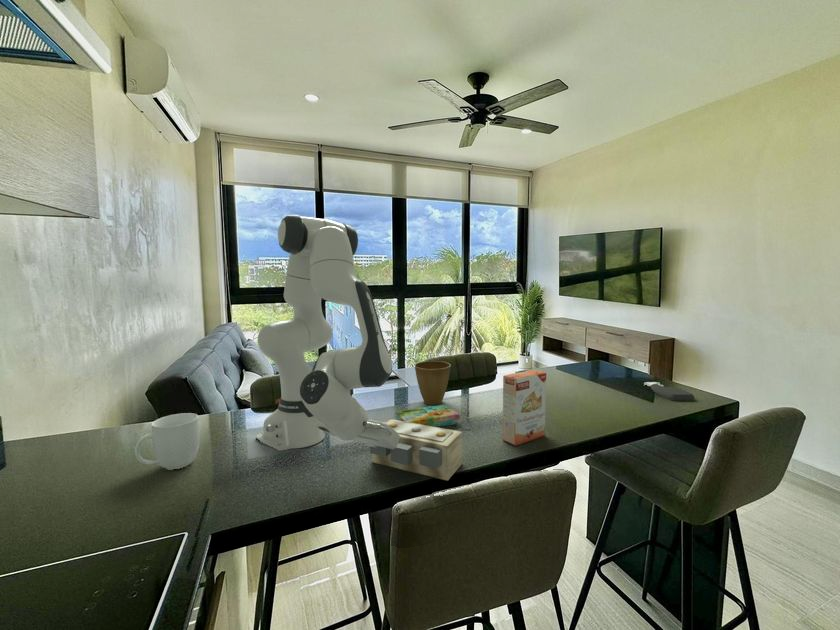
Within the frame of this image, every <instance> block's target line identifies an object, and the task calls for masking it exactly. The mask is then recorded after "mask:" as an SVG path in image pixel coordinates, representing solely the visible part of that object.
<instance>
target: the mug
mask: <svg viewBox="0 0 840 630" xmlns="http://www.w3.org/2000/svg"><path fill="white" fill-rule="evenodd" d="M199 420H200V419H199V415H198V414H197V413H192V412H187V413H185V412H184V413H183V412H181V413H176V414H169V415H166V416H162V417H160V418H157V419H155V420H154V421H152V423H151V425H150V426H151V432H150V433H146V434H144V435H142V436H141V437H140V438H139V439H138V441H137V442H136V443H135V444H136V445H135V448H134V455H135V457H136V459H137V461H138V462H139V463H141V464H144V465H149V466H150V465H160V466H161V467H162V468H163V467H165V468H175V467H181V466H184V465H187V464H189V463H190V462H192V461H193V460H195V458H196V456H197V454H198V451H199V447H200V433H201V432H200V423H199ZM146 439H147V440H148V439H151V440H152V445H153V451H154V452H153V453H154V454H155V458H156V459H154V460H148V459H145V458H143V456H142V455H141V453H140V447H141V444H142V443H143V442H144V441H145V440H146ZM193 462H194V461H193ZM193 462H192V463H193Z"/></svg>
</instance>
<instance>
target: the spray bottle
mask: <svg viewBox="0 0 840 630" xmlns="http://www.w3.org/2000/svg"><path fill="white" fill-rule="evenodd" d="M645 385H647V387H649V386H650V389H651V390H652V392H653V393H655V394H657V395H658V396H659V397H662V398H664V399H667V400H669V401H673V402H692V401H695V395H694V394H692V393H691V392H690V391H688V390H685V389H682V388H677V387H671V386H665V385H663V384H661V383H660V382H656V381H651V382H650V381H647V382H644V383H643V386H645Z"/></svg>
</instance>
